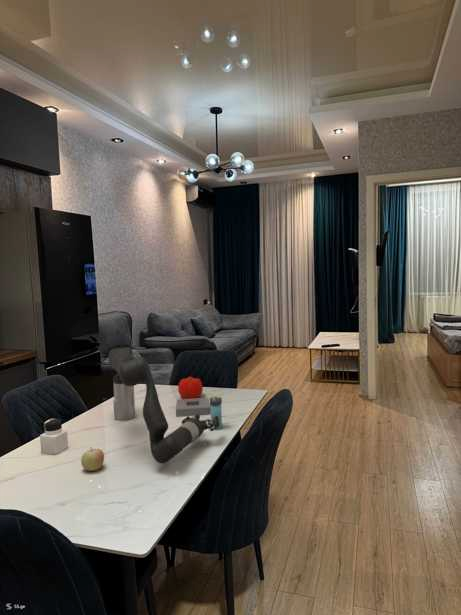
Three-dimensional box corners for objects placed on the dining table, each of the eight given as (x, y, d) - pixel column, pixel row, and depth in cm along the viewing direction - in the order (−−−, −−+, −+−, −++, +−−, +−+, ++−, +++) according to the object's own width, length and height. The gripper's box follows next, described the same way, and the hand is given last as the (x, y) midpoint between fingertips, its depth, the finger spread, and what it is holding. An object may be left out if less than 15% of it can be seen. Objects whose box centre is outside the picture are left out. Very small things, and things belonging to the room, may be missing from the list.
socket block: (176, 416, 198) (175, 409, 198) (177, 406, 214) (176, 399, 214) (210, 414, 199) (209, 407, 199) (208, 404, 215) (208, 397, 215)
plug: (211, 430, 179) (209, 399, 178) (210, 426, 184) (209, 395, 183) (223, 429, 179) (222, 398, 178) (222, 425, 185) (221, 395, 184)
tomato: (201, 401, 221) (201, 381, 221) (176, 401, 222) (176, 382, 221) (203, 393, 235) (203, 375, 234) (180, 394, 235) (179, 375, 234)
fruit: (92, 475, 142) (90, 452, 141) (77, 471, 146) (76, 448, 145) (109, 466, 148) (108, 444, 147) (95, 462, 152) (94, 440, 151)
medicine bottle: (68, 447, 166) (66, 418, 165) (55, 455, 159) (53, 424, 158) (54, 445, 168) (52, 416, 167) (40, 453, 162) (38, 422, 161)
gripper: (206, 424, 156) (223, 410, 171) (172, 419, 161) (192, 406, 176) (206, 443, 157) (224, 428, 171) (173, 438, 162) (193, 424, 177)
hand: (208, 417), depth 174 cm, fingers open, 8 cm apart
